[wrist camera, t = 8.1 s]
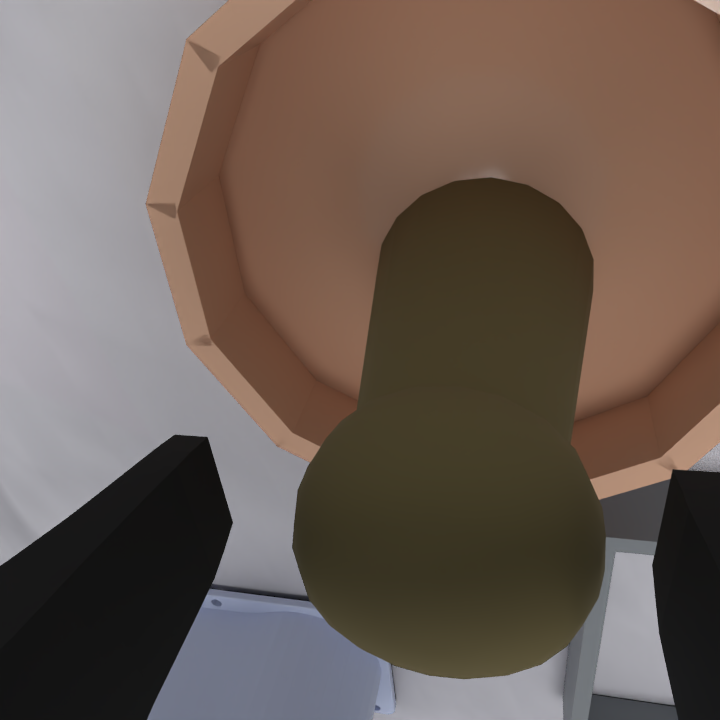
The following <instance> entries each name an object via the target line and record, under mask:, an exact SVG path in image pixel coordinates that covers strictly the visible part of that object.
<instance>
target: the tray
mask: <svg viewBox="0 0 720 720" xmlns="http://www.w3.org/2000/svg"><path fill="white" fill-rule="evenodd" d="M669 484H670V479H668V480H665V481H661V482H658V483H655V484H651V485H648V486H644V487H641V488H637V489H634V490H631V491H627V492H624V493H620V494H617V495H613V496H610V497H607V498H603V499H600V500H599V501H600V503H601V505H602V508H603V516H604V524H605V532H606V550H605V572H604V577H603V581H602V586H601V590H600V595H599V598H598V600H597V602H596V603H595V605H594V607H593V608H592V610H591V612H590V614H589V615H588V617H587V619H586V621H585V622H584V624H583V626H582V627H581V628H580V630H579V631H578V632H577V634H576V635H575V636H574V638H573V639H572V640H571V642H570V643H569V651H568V659H567V667H566V675H565V684H564V692H563V720H678V716H677V712H676V707H673V706H667V705H660V704H653V703H646V702H639V701H633V700H626V699H619V698H612V697H606V696H599V695H592V691H593V685H594V679H595V673H596V667H597V661H598V655H599V649H600V643H601V637H602V631H603V625H604V618H605V612H606V606H607V600H608V594H609V588H610V582H611V576H612V570H613V564H614V558H615V552H625V553H635V554H645V555H655V550H656V545H657V541H658V536H659V531H660V526H661V522H662V517H663V512H664V507H665V503H666V498H667V493H668V488H669Z"/></svg>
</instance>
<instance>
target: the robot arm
mask: <svg viewBox="0 0 720 720" xmlns="http://www.w3.org/2000/svg"><path fill="white" fill-rule="evenodd" d="M232 524H233V521H232V518H231V515H230V511H229V508H228V504H227V501H226V498H225V494H224V491H223V488H222V484H221V481H220V477H219V474H218V471H217V467H216V464H215V461H214V457H213V454H212V450H211V447H210V444H209V440H208V437H199V436H184V435H174V436H172V437H171V438H170V439H168V440H167V441H166V442H164V443H163V444H161V445H160V446H159V447H157V448H156V449H155V450H154V451H152V452H151V453H150V454H148V455H147V456H146V457H144V458H143V459H142V460H141V461H139V462H138V463H137V464H136V465H134V466H133V467H132V468H131V469H129V470H128V471H127V472H125V473H124V474H123V475H122V476H120V477H119V478H118V479H117V480H115V481H114V482H113V483H112V484H110V485H109V486H108V487H106V488H105V489H104V490H103V491H101V492H100V493H99V494H97V495H96V496H95V497H94V498H92V499H91V500H90V501H88V502H87V503H86V504H85V505H83V506H82V507H81V508H79V509H78V510H77V511H76V512H74V513H73V514H72V515H70V516H69V517H68V518H66V519H65V520H64V521H62V522H61V523H60V524H58V525H57V526H55V527H54V528H53V529H51V530H50V531H49V532H47V533H46V534H44V535H43V536H42V537H40V538H39V539H37V540H36V541H35V542H33V543H32V544H30V545H29V546H28V547H26V548H25V549H24V550H22V551H21V552H19V553H18V554H17V555H15V556H14V557H12V558H11V559H10V560H8V561H7V562H5V563H4V564H2V565H1V566H0V720H373V715H374V712H376V713H382V714H392V713H394V712H395V707H396V700H395V692H394V685H393V677H392V669H391V664H390V663H388V662H386V661H384V660H382V659H380V658H378V657H376V656H374V655H372V654H370V653H368V652H366V651H364V650H362V649H361V648H359V647H357V646H356V645H355V644H353V643H352V642H351V641H349V640H348V639H347V638H345V637H344V636H343V635H341V634H340V633H339V632H337V631H336V630H335V629H334V628H332V627H331V626H330V625H329V624H328V623H327V622H326V621H325V619H324V618H323V617H322V615H321V614H320V613H319V612H318V610H317V609H316V608H315V607H314V605H313V604H312V603H311V602H309V601H301V600H294V599H286V598H278V597H270V596H263V595H255V594H247V593H239V592H231V591H224V590H216V589H210V587H211V585H212V582H213V580H214V578H215V575H216V572H217V569H218V567H219V564H220V561H221V558H222V555H223V552H224V549H225V546H226V543H227V540H228V536H229V533H230V530H231V527H232ZM652 567H653V577H654V588H655V598H656V608H657V617H658V626H659V634H660V639H661V644H662V648H663V653H664V658H665V662H666V667H667V671H668V676H669V680H670V685H671V690H672V694H673V698H674V703H675V707H676V712H677V716H678V720H720V473H719V472H704V471H690V470H675V469H672V474H671V479H670V484H669V488H668V493H667V498H666V503H665V507H664V512H663V517H662V522H661V526H660V531H659V536H658V541H657V545H656V550H655V555H654V560H653V564H652Z"/></svg>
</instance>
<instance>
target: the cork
mask: <svg viewBox="0 0 720 720" xmlns="http://www.w3.org/2000/svg"><path fill="white" fill-rule="evenodd" d="M593 277H594V259H593V256H592V254H591V251H590V248H589V246H588V243H587V240H586V238H585V235H584V232H583V230H582V228H581V227H580V226H579V225H578V224H577V222H576V221H575V220H574V219H573V218H572V217H571V216H570V214H569V213H568V212H567V211H566V210H565V209H564V208H563V206H562V205H561V204H560V203H559V202H557V201H555V200H554V199H552V198H550V197H548V196H547V195H545V194H543V193H541V192H540V191H538V190H536V189H534V188H532V187H531V186H529V185H526V184H521V183H517V182H512V181H507V180H502V179H497V178H492V177H489V178H479V179H469V180H459V181H453V182H451V183H448V184H446V185H444V186H441V187H439V188H437V189H435V190H432V191H430V192H428V193H425V194H423V195H421V196H420V197H419V198H418V199H417V200H416V201H414V202H413V203H412V204H411V205H410V206H409V207H408V208H407V209H405V210H404V211H403V212H402V213H401V214H400V215H399V216H397V218H396V219H395V221H394V223H393V225H392V227H391V228H390V230H389V232H388V234H387V235H386V237H385V239H384V241H383V243H382V244H381V251H380V257H379V263H378V269H377V275H376V282H375V288H374V295H373V302H372V309H371V316H370V322H369V329H368V336H367V343H366V349H365V356H364V363H363V370H362V376H361V383H360V390H359V397H358V404H357V410H356V411H354V412H353V413H351V414H350V415H349V416H347V417H346V418H344V419H343V420H342V421H341V422H340V423H339V424H338V425H337V426H336V427H335V428H334V430H333V431H332V432H331V433H330V434H329V435H328V436H327V437H326V439H325V440H324V442H323V444H322V445H321V447H320V448H319V450H318V452H317V453H316V455H315V456H314V458H313V459H312V461H311V463H310V464H309V466H308V468H307V470H306V472H305V475H304V477H303V479H302V482H301V484H300V486H299V489H298V493H297V502H296V511H295V520H294V532H293V545H292V548H293V551H294V555H295V558H296V561H297V564H298V568H299V571H300V574H301V577H302V580H303V583H304V586H305V589H306V592H307V595H308V598H309V600H310V601H311V603H312V604H313V605H314V607H315V608H316V609H317V610H318V612H319V613H320V614H321V615H322V617H323V618H324V619H325V621H326V622H327V623H328V624H329V625H330V626H331V627H332V628H334V629H335V630H336V631H337V632H339V633H340V634H341V635H343V636H344V637H345V638H347V639H348V640H349V641H351V642H352V643H353V644H355V645H356V646H357V647H359V648H361V649H362V650H364V651H366V652H368V653H370V654H372V655H374V656H376V657H378V658H380V659H382V660H384V661H386V662H388V663H390V664H393V665H395V666H398V667H401V668H405V669H408V670H412V671H415V672H419V673H422V674H426V675H429V676H439V677H448V678H458V679H471V678H483V677H495V676H505V675H510V674H513V673H516V672H519V671H523V670H526V669H529V668H532V667H535V666H538V665H541V664H543V663H544V662H546V661H547V660H548V659H550V658H551V657H553V656H554V655H555V654H557V653H558V652H560V651H561V650H562V649H564V648H565V647H567V646H568V644H569V643H570V642H571V640H572V639H573V638H574V636H575V635H576V634H577V632H578V631H579V630H580V628H581V627H582V626H583V624H584V622H585V621H586V619H587V617H588V615H589V614H590V612H591V610H592V608H593V607H594V605H595V603H596V602H597V600H598V598H599V595H600V590H601V586H602V581H603V577H604V572H605V550H606V532H605V524H604V516H603V508H602V505H601V503H600V501H599V499H598V497H597V494H596V492H595V490H594V488H593V486H592V483H591V481H590V479H589V477H588V474H587V472H586V470H585V468H584V466H583V464H582V462H581V460H580V458H579V455H578V453H577V451H576V449H575V448H574V447H573V446H572V445H571V438H572V431H573V425H574V418H575V411H576V404H577V398H578V391H579V384H580V377H581V371H582V364H583V357H584V350H585V344H586V337H587V330H588V324H589V317H590V310H591V303H592V297H593Z"/></svg>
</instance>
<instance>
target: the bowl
mask: <svg viewBox="0 0 720 720" xmlns="http://www.w3.org/2000/svg"><path fill="white" fill-rule="evenodd" d="M489 177H492V178H497V179H502V180H507V181H512V182H517V183H521V184H526V185H529V186H531V187H532V188H534V189H536V190H538V191H540V192H541V193H543V194H545V195H547V196H548V197H550V198H552V199H554V200H555V201H557V202H559V203H560V204H561V205H562V206H563V208H564V209H565V210H566V211H567V212H568V213H569V214H570V216H571V217H572V218H573V219H574V220H575V221H576V222H577V224H578V225H579V226H580V227H581V228H582V230H583V232H584V235H585V238H586V240H587V243H588V246H589V248H590V251H591V254H592V256H593V259H594V277H593V297H592V303H591V310H590V317H589V324H588V330H587V337H586V344H585V350H584V357H583V364H582V371H581V377H580V384H579V391H578V398H577V404H576V411H575V418H574V425H573V431H572V438H571V445H572V446H573V447H574V448H575V449H576V451H577V453H578V455H579V458H580V460H581V462H582V464H583V466H584V468H585V470H586V472H587V474H588V477H589V479H590V481H591V483H592V486H593V488H594V490H595V492H596V494H597V497H598V499H599V500H600V499H603V498H607V497H610V496H613V495H617V494H620V493H624V492H627V491H631V490H634V489H637V488H641V487H644V486H648V485H651V484H655V483H658V482H661V481H665V480H668V479H671V474H672V469H675V470H688V469H689V468H691V467H692V466H693V465H694V464H695V463H696V462H697V461H699V460H700V459H701V458H702V457H703V456H704V455H706V454H707V453H708V452H709V451H710V450H711V449H712V448H714V447H715V446H716V445H717V444H718V443H719V442H720V0H229V1H227V2H226V3H225V4H224V5H223V6H222V7H221V8H220V9H219V10H218V11H217V12H215V13H214V14H213V15H212V16H211V17H210V18H209V19H208V20H207V21H206V22H205V23H203V24H202V25H201V26H200V27H199V28H198V29H197V30H196V31H195V32H194V33H193V34H191V35H190V36H189V37H188V38H187V39H186V43H185V47H184V51H183V55H182V60H181V64H180V68H179V72H178V76H177V80H176V84H175V88H174V92H173V96H172V100H171V104H170V108H169V112H168V116H167V120H166V124H165V128H164V132H163V136H162V140H161V144H160V148H159V152H158V156H157V160H156V164H155V168H154V172H153V177H152V181H151V185H150V189H149V193H148V197H147V201H146V207H147V210H148V214H149V217H150V221H151V224H152V227H153V231H154V234H155V238H156V241H157V245H158V248H159V252H160V255H161V259H162V262H163V265H164V269H165V272H166V276H167V279H168V283H169V286H170V290H171V293H172V297H173V300H174V303H175V307H176V310H177V314H178V317H179V321H180V324H181V328H182V331H183V335H184V338H185V341H186V345H187V346H188V347H189V348H190V349H191V351H192V352H193V353H194V354H195V355H196V356H197V357H198V358H199V359H200V361H201V362H202V363H203V364H204V365H205V366H206V367H207V368H208V370H209V371H210V372H211V373H212V374H213V375H214V376H215V377H216V378H217V380H218V381H219V382H220V383H221V384H222V385H223V386H224V387H225V389H226V390H227V391H228V392H229V393H230V394H231V395H232V396H233V397H234V399H235V400H236V401H237V402H238V403H239V404H240V405H241V406H242V408H243V409H244V410H245V411H246V412H247V413H248V414H249V415H250V417H251V418H252V419H253V420H254V421H255V422H256V423H257V424H258V425H259V427H260V428H261V429H262V430H263V431H264V432H265V433H266V434H267V436H268V437H269V438H270V439H271V440H272V441H273V442H274V443H275V444H276V446H277V447H279V448H281V449H283V450H286V451H288V452H290V453H292V454H294V455H296V456H298V457H300V458H302V459H304V460H306V461H308V462H310V463H311V461H312V459H313V458H314V456H315V455H316V453H317V452H318V450H319V448H320V447H321V445H322V444H323V442H324V440H325V439H326V437H327V436H328V435H329V434H330V433H331V432H332V431H333V430H334V428H335V427H336V426H337V425H338V424H339V423H340V422H341V421H342V420H343V419H344V418H346V417H347V416H349V415H350V414H351V413H353V412H354V411H356V410H357V404H358V397H359V390H360V383H361V376H362V370H363V363H364V356H365V349H366V343H367V336H368V329H369V322H370V316H371V309H372V302H373V295H374V288H375V282H376V275H377V269H378V263H379V257H380V251H381V244H382V243H383V241H384V239H385V237H386V235H387V234H388V232H389V230H390V228H391V227H392V225H393V223H394V221H395V219H396V218H397V216H399V215H400V214H401V213H402V212H403V211H404V210H405V209H407V208H408V207H409V206H410V205H411V204H412V203H413V202H414V201H416V200H417V199H418V198H419V197H420V196H421V195H423V194H425V193H428V192H430V191H432V190H435V189H437V188H439V187H441V186H444V185H446V184H448V183H451V182H453V181H459V180H469V179H479V178H489Z"/></svg>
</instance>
